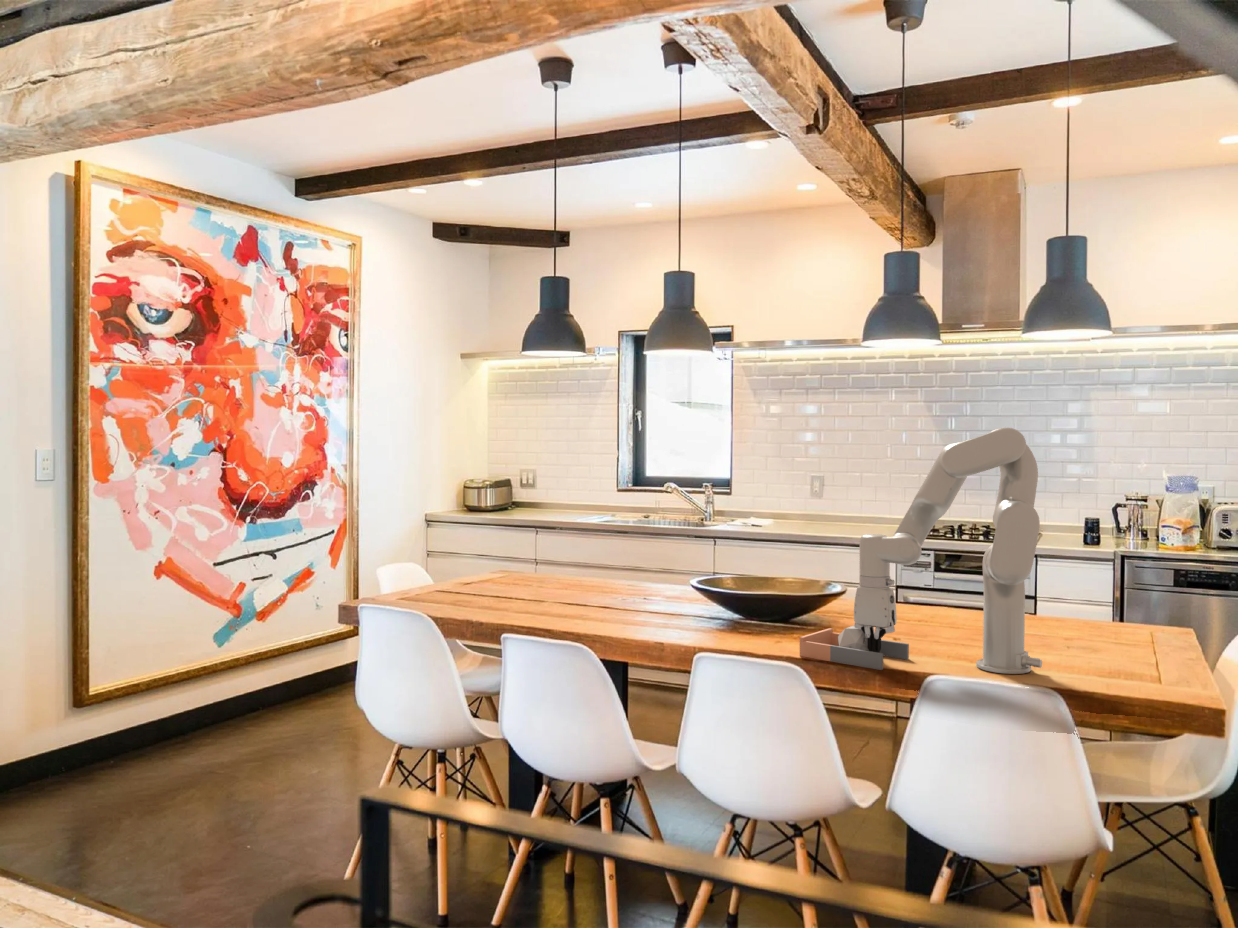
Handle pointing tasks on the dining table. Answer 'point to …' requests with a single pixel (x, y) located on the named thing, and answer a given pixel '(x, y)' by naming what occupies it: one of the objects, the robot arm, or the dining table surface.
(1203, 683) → the dining table surface
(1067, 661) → the dining table surface
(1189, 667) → the dining table surface
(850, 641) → the die
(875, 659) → the two-tone shallow tray
